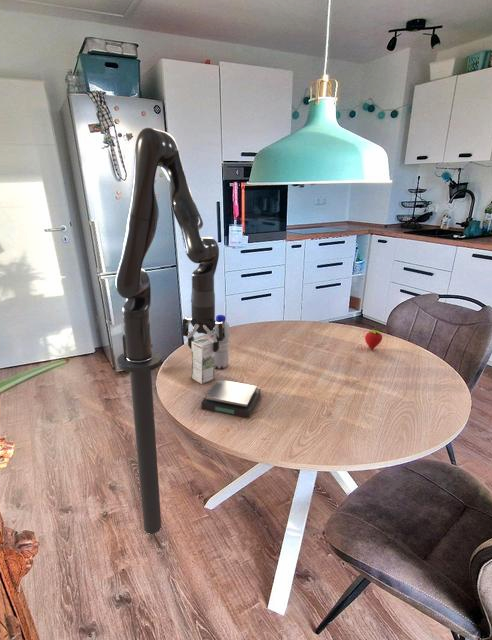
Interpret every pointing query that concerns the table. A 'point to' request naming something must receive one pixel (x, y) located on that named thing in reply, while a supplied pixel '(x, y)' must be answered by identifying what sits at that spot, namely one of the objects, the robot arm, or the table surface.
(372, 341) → the strawberry
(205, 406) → the scale
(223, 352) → the bottle
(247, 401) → the pan
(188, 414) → the table surface
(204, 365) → the syrup box
